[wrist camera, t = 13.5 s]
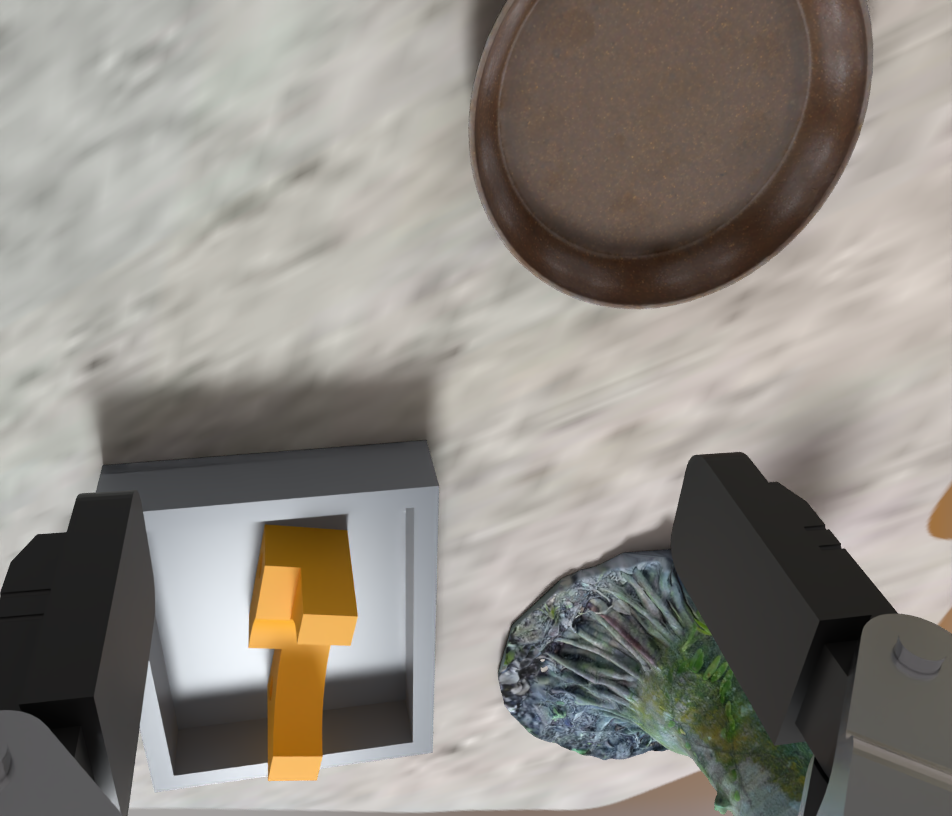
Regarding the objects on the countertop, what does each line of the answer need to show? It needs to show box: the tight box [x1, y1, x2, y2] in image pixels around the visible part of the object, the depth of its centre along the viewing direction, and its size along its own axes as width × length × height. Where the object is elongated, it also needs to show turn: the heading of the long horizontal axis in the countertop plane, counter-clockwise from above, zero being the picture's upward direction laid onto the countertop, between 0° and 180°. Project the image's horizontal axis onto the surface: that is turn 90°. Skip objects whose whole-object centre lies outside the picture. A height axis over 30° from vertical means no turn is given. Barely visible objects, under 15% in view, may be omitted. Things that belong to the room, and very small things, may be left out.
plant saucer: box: [469, 0, 873, 309], centre depth 39 cm, size 18×18×3 cm
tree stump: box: [498, 549, 813, 816], centre depth 54 cm, size 18×20×18 cm
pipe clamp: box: [248, 524, 358, 781], centre depth 48 cm, size 12×4×6 cm, turn 165°
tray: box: [96, 440, 439, 792], centre depth 49 cm, size 16×20×4 cm
